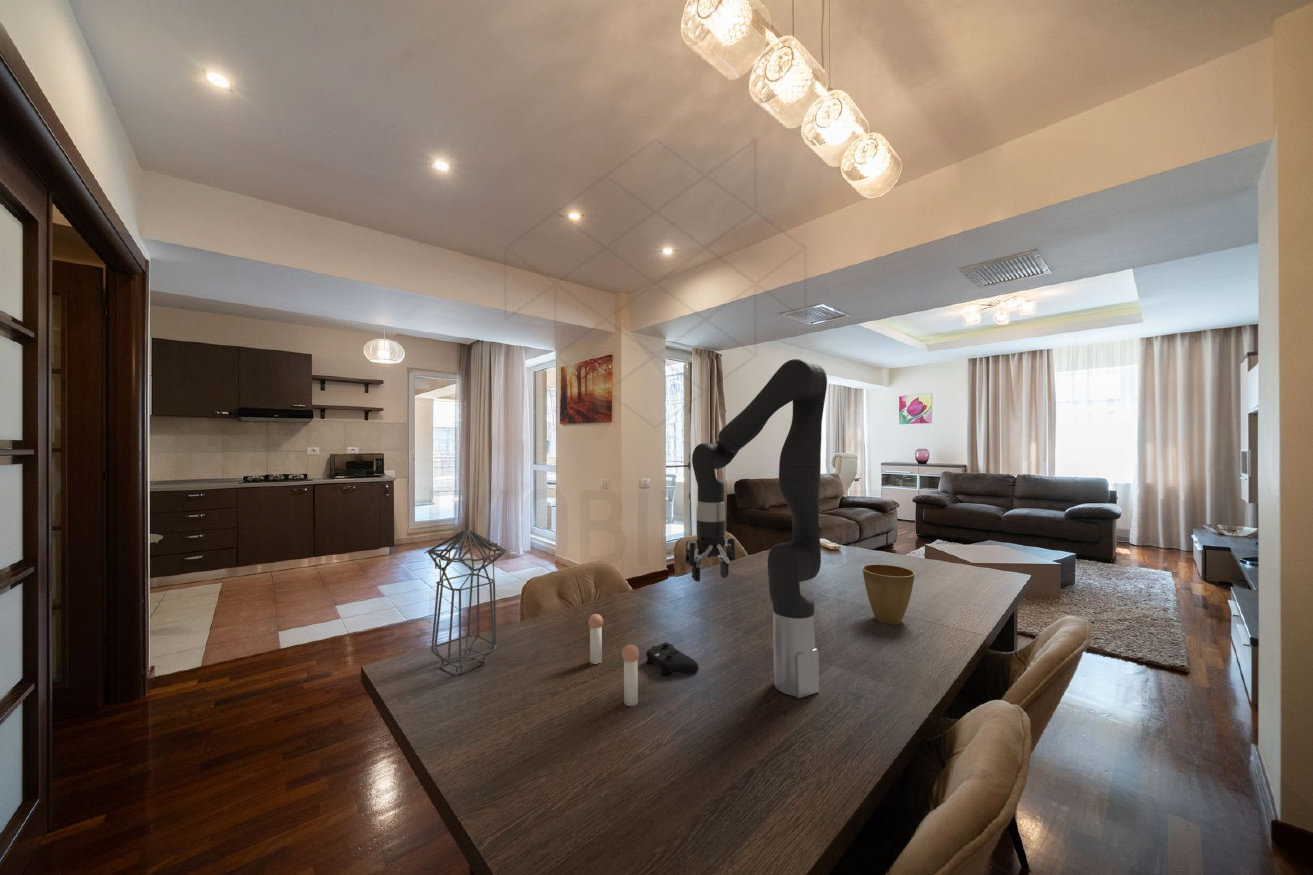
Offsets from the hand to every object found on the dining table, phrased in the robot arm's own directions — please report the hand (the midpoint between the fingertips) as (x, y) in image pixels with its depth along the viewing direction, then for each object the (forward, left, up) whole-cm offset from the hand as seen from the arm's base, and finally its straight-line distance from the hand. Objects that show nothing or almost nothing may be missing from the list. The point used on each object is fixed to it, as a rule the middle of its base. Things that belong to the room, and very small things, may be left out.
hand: (710, 578), depth 127 cm
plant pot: (-5, -64, -21) cm, 67 cm away
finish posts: (+1, +28, -21) cm, 35 cm away
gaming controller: (+1, +12, -21) cm, 24 cm away
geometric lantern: (+26, +58, -21) cm, 67 cm away
